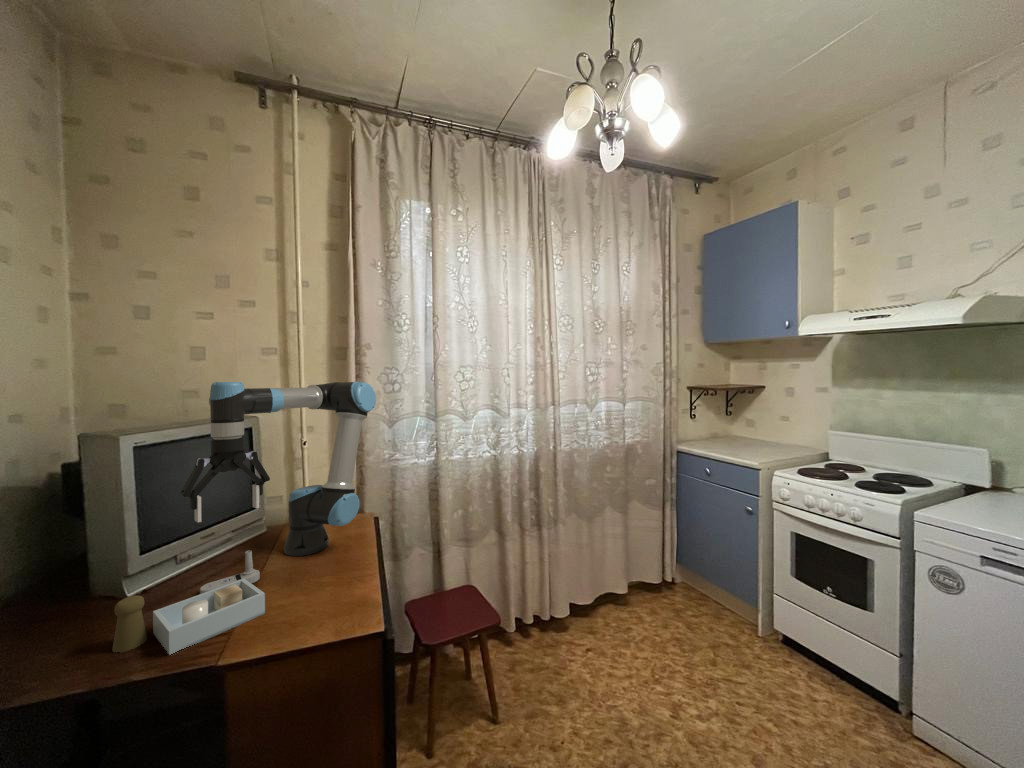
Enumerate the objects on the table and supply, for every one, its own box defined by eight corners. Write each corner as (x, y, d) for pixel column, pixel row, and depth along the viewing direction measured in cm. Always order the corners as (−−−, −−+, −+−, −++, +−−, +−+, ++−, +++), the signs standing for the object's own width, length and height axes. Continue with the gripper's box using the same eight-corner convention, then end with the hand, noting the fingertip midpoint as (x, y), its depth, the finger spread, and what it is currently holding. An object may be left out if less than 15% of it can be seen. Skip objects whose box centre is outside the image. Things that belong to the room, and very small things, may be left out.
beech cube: (235, 601, 110) (235, 584, 110) (242, 607, 108) (242, 589, 108) (214, 610, 106) (213, 592, 106) (220, 616, 103) (220, 597, 103)
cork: (127, 636, 96) (127, 592, 96) (154, 635, 97) (153, 591, 97) (104, 653, 90) (103, 606, 90) (132, 651, 91) (131, 605, 91)
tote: (244, 597, 114) (244, 578, 114) (264, 613, 105) (264, 593, 105) (153, 633, 97) (153, 611, 97) (169, 656, 89) (169, 631, 89)
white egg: (204, 624, 100) (204, 597, 100) (211, 632, 97) (211, 604, 97) (179, 635, 96) (179, 606, 96) (185, 643, 93) (185, 613, 93)
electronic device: (197, 562, 117) (256, 546, 127) (199, 594, 117) (258, 575, 127) (199, 568, 113) (259, 551, 123) (200, 601, 113) (261, 581, 123)
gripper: (270, 431, 120) (271, 500, 120) (164, 442, 99) (165, 524, 99) (282, 433, 115) (282, 504, 115) (173, 444, 95) (174, 530, 95)
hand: (228, 514), depth 107 cm, fingers open, 13 cm apart
